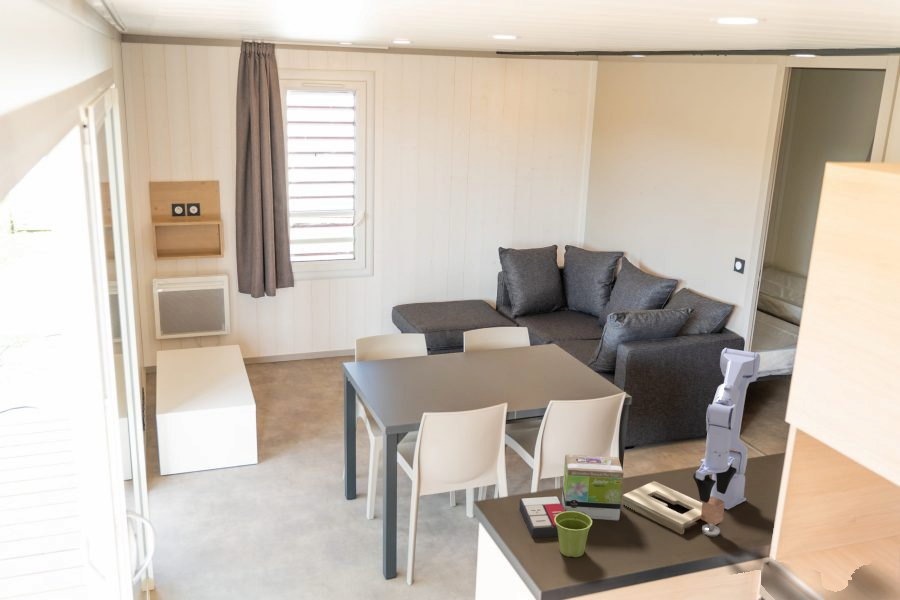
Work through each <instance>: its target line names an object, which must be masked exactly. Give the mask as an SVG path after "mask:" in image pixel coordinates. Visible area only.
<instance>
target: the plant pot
mask: <svg viewBox="0 0 900 600" xmlns="http://www.w3.org/2000/svg"><path fill="white" fill-rule="evenodd" d="M554 521H555V524H556V526H557V529H558V536H557V537H558V545H559V546H558V547H559V552H560V553H561V554H562V555H563V556H565V557H573V558H578V557H582V556H583V555H584V553H585V549H586V544H587V540H588V534H589V531H590V529H591V526H592V525H593V519H591V518H590V517H589V516H587V515H585V514H583V513H580V512H575V511H566V512H562V513H559V514H557V515H556V516H555V518H554Z"/></svg>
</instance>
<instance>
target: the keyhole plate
mask: <svg viewBox="0 0 900 600" xmlns="http://www.w3.org/2000/svg"><path fill="white" fill-rule="evenodd" d="M652 496H654V497H655V498H654V497H652ZM656 497H657V498H659V499H661V500H663V501H661V500H658V499H656ZM664 501H665V502H667V503H670V504H672V505H674V506H675V505H679V506H682V507H684V508H686V509H688V511H686V512H684V513H680V512H677V511H676V510H674V509H671V507H670V508H669V507H668V506H669V505H668V504H667V503H665V502H664ZM624 505H625V506H624ZM621 506H624V507H626V506H627V507H626V508H628V507H629V508H628V509H630V508H631V509H630V510H632V509H633V510H632V511H634V510H635V511H634V512H636V513H638V514H640V515H642V516H644V517H646V518H648V519H650V520H652V521H654V522H656V523H658V524H660V525H662V526H664V527H666V528H668V529H670V530H672V531H673V532H676V533H677V534H680V535H683V534H684V533H685V527H687V526H688V525H690V524H692V523H694V522H696V521H698V520H701V511H702V501H699V500H697V499H695V498H692V497H690V496H688V495H686V494H683V493H681V492H679V491H677V490H674V489H672V488H670V487H668V486H666V485H664V484H661V483H659V482H658V481H655V480H653V481H650V482H649V483H646V484H644V485H642V486H640V487H637V488H635V489H633V490H631V491H629V492H626V493H624V494H622V497H621Z"/></svg>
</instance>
